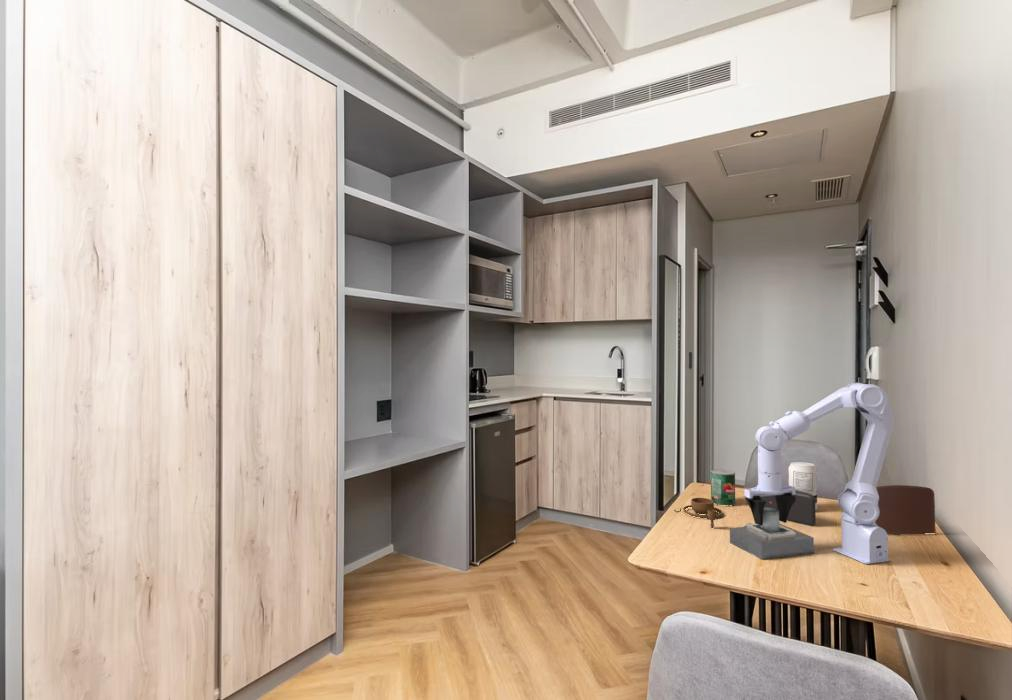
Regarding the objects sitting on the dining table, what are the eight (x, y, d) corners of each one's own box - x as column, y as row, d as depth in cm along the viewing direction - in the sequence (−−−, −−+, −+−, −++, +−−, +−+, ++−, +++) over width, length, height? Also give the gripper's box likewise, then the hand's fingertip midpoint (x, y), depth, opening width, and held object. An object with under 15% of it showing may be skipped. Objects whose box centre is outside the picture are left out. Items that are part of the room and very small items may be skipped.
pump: (783, 534, 135) (782, 511, 135) (768, 535, 134) (768, 513, 134) (771, 529, 139) (771, 507, 139) (757, 530, 139) (756, 508, 139)
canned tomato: (733, 507, 173) (733, 475, 173) (709, 504, 177) (708, 472, 177) (737, 501, 179) (736, 470, 180) (713, 498, 183) (712, 468, 184)
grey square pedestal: (813, 553, 133) (813, 532, 133) (761, 559, 129) (761, 538, 129) (768, 532, 148) (767, 514, 148) (720, 537, 144) (720, 519, 144)
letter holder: (936, 535, 146) (935, 485, 146) (866, 535, 146) (865, 486, 146) (909, 524, 156) (908, 477, 156) (843, 524, 156) (842, 477, 156)
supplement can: (783, 506, 173) (782, 462, 173) (802, 504, 176) (801, 460, 176) (803, 513, 166) (803, 467, 166) (823, 511, 168) (822, 465, 168)
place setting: (737, 516, 165) (736, 498, 165) (717, 533, 150) (717, 512, 150) (683, 506, 176) (683, 489, 177) (660, 521, 161) (659, 502, 161)
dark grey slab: (820, 524, 155) (819, 493, 156) (814, 527, 153) (813, 496, 153) (765, 512, 168) (765, 483, 168) (759, 514, 165) (758, 485, 165)
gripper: (780, 467, 142) (781, 515, 142) (736, 470, 139) (737, 520, 139) (801, 472, 136) (802, 523, 135) (755, 476, 132) (755, 528, 132)
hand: (770, 522), depth 137 cm, fingers open, 7 cm apart
